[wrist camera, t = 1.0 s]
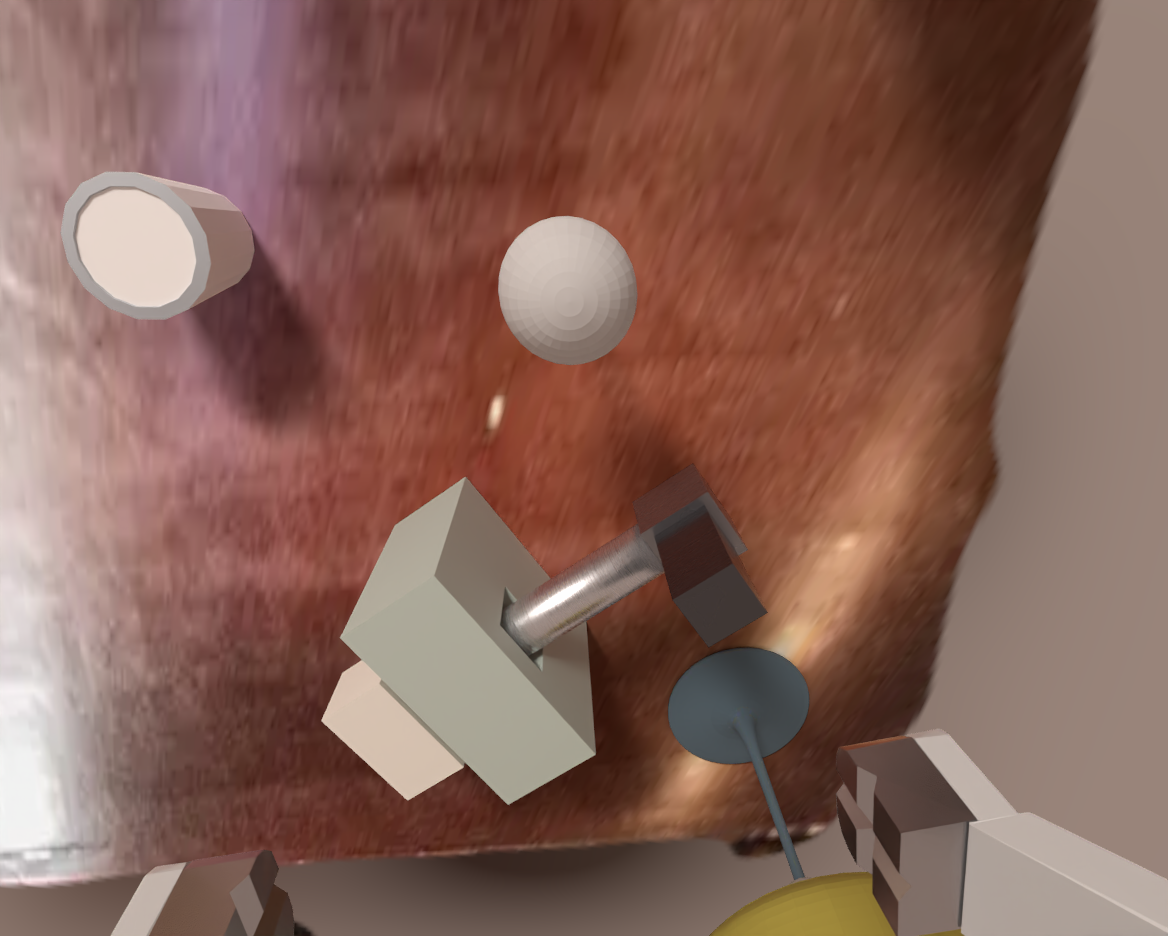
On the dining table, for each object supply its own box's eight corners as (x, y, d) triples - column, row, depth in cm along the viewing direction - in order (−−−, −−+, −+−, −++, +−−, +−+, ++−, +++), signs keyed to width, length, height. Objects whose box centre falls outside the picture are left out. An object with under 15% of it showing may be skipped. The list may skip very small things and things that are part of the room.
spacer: (395, 638, 40) (379, 684, 36) (471, 716, 42) (463, 767, 39) (342, 672, 41) (321, 721, 37) (420, 748, 43) (407, 800, 39)
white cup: (262, 312, 41) (207, 333, 35) (141, 287, 41) (62, 305, 34) (269, 190, 39) (211, 189, 33) (140, 161, 38) (55, 154, 32)
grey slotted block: (465, 476, 46) (434, 576, 34) (586, 621, 50) (595, 754, 38) (395, 525, 47) (340, 638, 35) (519, 662, 51) (508, 804, 39)
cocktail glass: (831, 797, 57) (1021, 1211, 34) (611, 794, 56) (651, 1219, 33) (877, 607, 51) (1152, 958, 27) (629, 600, 50) (695, 958, 26)
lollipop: (496, 234, 40) (465, 255, 26) (591, 193, 40) (610, 192, 26) (539, 334, 42) (532, 401, 29) (629, 296, 42) (667, 346, 28)
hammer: (692, 463, 38) (736, 548, 29) (729, 516, 40) (783, 615, 30) (347, 685, 43) (290, 821, 34) (390, 727, 44) (346, 869, 35)
